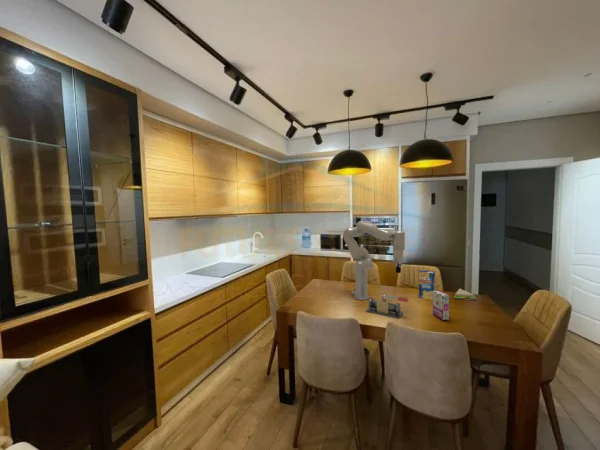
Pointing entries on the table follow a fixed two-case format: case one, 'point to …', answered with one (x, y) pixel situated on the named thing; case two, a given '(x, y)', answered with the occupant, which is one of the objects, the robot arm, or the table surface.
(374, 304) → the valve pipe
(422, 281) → the blue cereal box
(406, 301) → the valve lever
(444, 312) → the candy bar box
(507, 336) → the table surface
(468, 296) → the sandwich
